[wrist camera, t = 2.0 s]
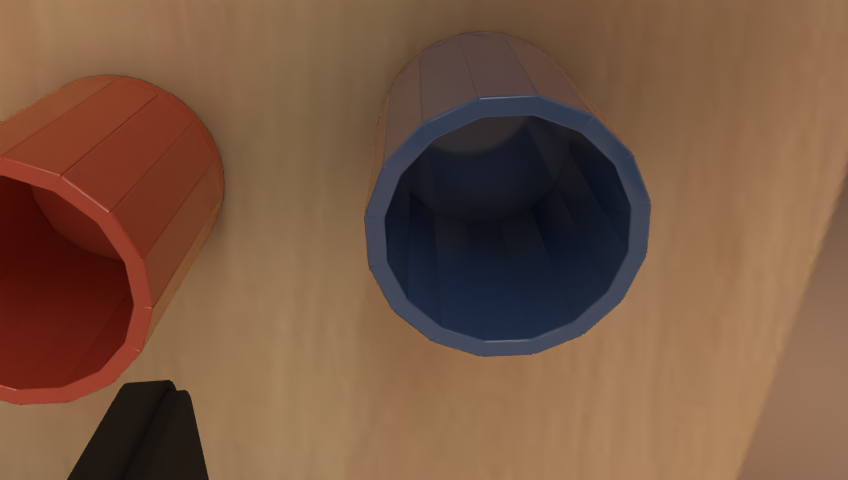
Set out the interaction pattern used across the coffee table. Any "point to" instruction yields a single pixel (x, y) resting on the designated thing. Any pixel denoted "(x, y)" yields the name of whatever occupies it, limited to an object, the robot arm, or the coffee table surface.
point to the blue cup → (500, 200)
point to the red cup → (96, 230)
